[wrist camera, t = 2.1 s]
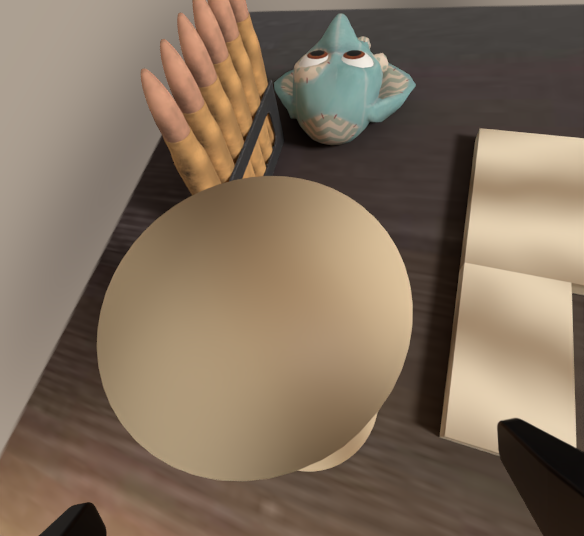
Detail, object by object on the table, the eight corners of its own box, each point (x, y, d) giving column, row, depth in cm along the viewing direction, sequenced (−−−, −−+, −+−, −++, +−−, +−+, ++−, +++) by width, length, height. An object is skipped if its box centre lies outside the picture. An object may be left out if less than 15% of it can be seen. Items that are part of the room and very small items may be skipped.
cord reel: (301, 505, 16) (190, 642, 4) (220, 386, 19) (29, 288, 7) (405, 402, 17) (525, 307, 6) (315, 307, 20) (276, 120, 9)
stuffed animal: (431, -22, 25) (428, 46, 18) (413, 82, 31) (406, 164, 24) (286, -15, 27) (234, 47, 20) (294, 80, 33) (255, 154, 26)
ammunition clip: (262, 136, 27) (210, -59, 17) (285, 138, 27) (245, -62, 16) (218, 253, 23) (109, 86, 12) (244, 257, 22) (154, 87, 12)
